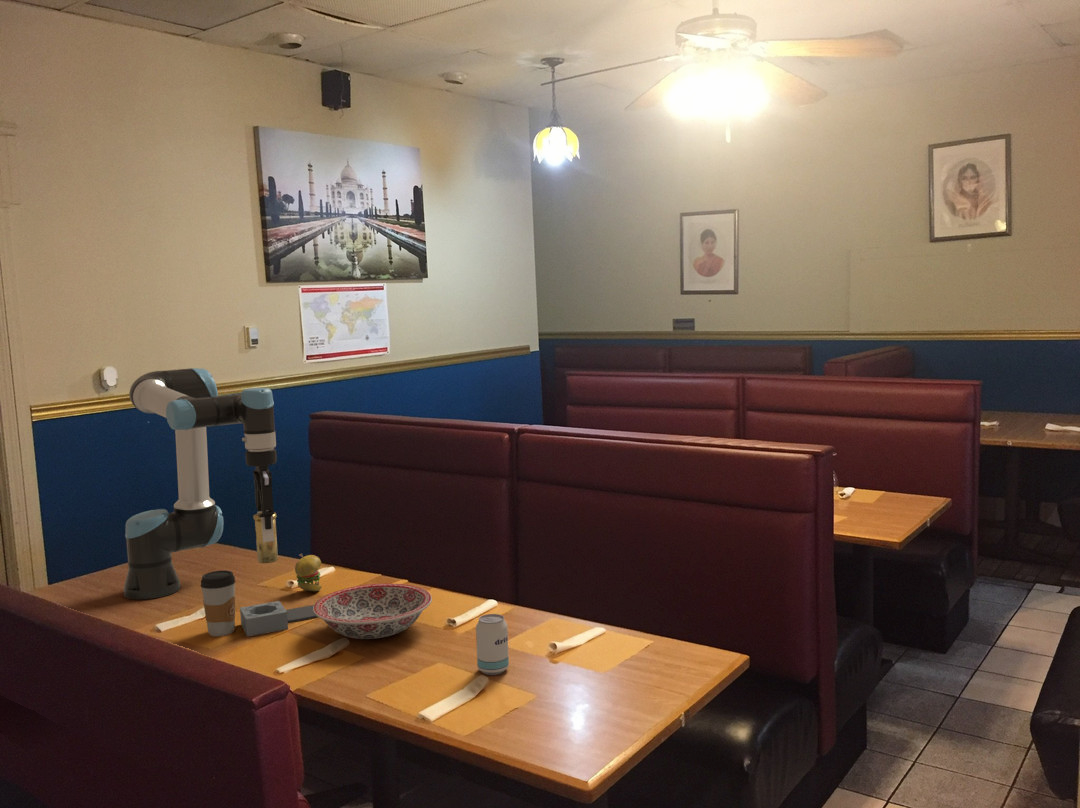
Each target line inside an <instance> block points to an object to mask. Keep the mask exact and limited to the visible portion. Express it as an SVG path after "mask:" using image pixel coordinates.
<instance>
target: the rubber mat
mask: <svg viewBox="0 0 1080 808" xmlns="http://www.w3.org/2000/svg"><path fill="white" fill-rule="evenodd" d="M313 606H314V604H311V605H306V606H300V607H293V608H288V609H285V610H286V611H287V620H288V624H290V623H295V622H300V621H306V620H307V621H308V620H311V619H317V618H319V617H317V616H316V615H315V614H314V612H313Z"/></svg>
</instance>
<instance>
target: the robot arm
mask: <svg viewBox="0 0 1080 808" xmlns="http://www.w3.org/2000/svg"><path fill="white" fill-rule="evenodd" d="M129 400H130V402H131V405H133V407H134V408H135V409H137V410H138V411H141V412H142V413H146V414H157V415H158V416H161V417H164V418H165V419H166V420H167V424H168V425H169V428H170V429H171V430H173V431H174V432H175V452H176V469H177V488H178V500H177V501H176V502H175V503H174V504H173V512H170V513H169V512H168V509H165V508H158V509H151V510H147V511H142V512H140V513H137V514H135V515H134V514H133V515H132V516H131V517H129V518H128V519H127V520H126V522H125V534H124V537H125V541H126V553H127V554H126V555H127V563H128V564H127V566H128V571H127V574H126V578H125V581H124V585H123V595H124V598H126V599H130V600H150V599H157V598H162V597H166V596H170V595H172V594H175V593H176V592H178V591H179V590H180V589H181V580H180V578H179V576H178V573H177V571H176V569H175V567H174V565H173V562H172V560H173V559H172V554H173V553H178V552H182V551H187V550H191V549H197V548H205V547H207V546H210V545H214V544H217V543H218V541H219V540H220V539H221V537H222V534H223V532H224V516H223V512H222V509H221V508H220V507H219V506H218V505H216V501H215V500H214V499H213V498H211V497H210V481H209V478H210V477H209V459H208V458H209V457H208V440H207V439H208V438H207V437H208V436H207V427H218V426H226V425H228V426H229V425H237V424H243V433H244V434H243V435H244V437H242V438H241V441H242V442H244V446H245V447H244V449H245V450H246V451H245V464H246V465H247V466H248V467H255V469H253V471H252V475H253V479H254V481H253V482H254V495H255V497H254V498H255V505H254V506H255V507H256V511H257V513H256V514H259V513H262V515H259V517H261V522H262V537H263V542H269V541H274V529H273V515H274V513H275V511H274V498H273V497H274V495H273V477H272V476H273V475H272V472H271V471H270V469H269V466H274V465H275V464H276V463H277V461H278V460H277V459H278V457H277V449H275V448H276V447H277V439H276V437H277V436H276V429H275V428H276V426H275V425H276V424H275V410H274V409H275V408H274V407H275V406H274V405H275V403H274V402H275V400H274V396H273V391H272V390H271V388H268V387H253V388H252V387H251V388H249V387H248V388H245V389H242V392H237V393H230V394H228V395H219V393H218V388H217V383H216V381H215V379H214V376H213V375H212V374H211V372H210V371H208V370H207V369H205V368H192V367H191V368H189V367H188V368H182V369H181V368H179V369H178V368H177V369H169V370H156V371H155V370H154V371H150V372H146V373H145V374H143V375H140V376H139V377H138V378H137V379H136V380H135V381H133V382H132V384H131V386H130V389H129Z"/></svg>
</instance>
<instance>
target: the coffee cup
mask: <svg viewBox="0 0 1080 808" xmlns="http://www.w3.org/2000/svg"><path fill="white" fill-rule="evenodd" d="M236 582H237V581H236V577H235V575H234V573H233V571H231V570H227V569H225V570H214V571H210V572H207V573H205V574H203V575H202V576H201V580H200V587H201V591H202V599H203V601H202V602H203V608H204V614H205V621H206V627H207V632H208V634H209V636H212V637H223V636H227V635H231V634H232V633H233V632H234V630H235V628H236V593H235V592H236Z"/></svg>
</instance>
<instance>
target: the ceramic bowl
mask: <svg viewBox="0 0 1080 808" xmlns="http://www.w3.org/2000/svg"><path fill="white" fill-rule="evenodd" d="M432 601H433V598H432V594H431V593H430V592H429V591H428V590H426V589H424V588H421V587H418V586H415V585H411V584H402V583H372V584H363V585H357V586H352V587H347V588H343V589H340V590H336V591H333V592H331V593H329V594H326V595H324V596H322V597H321V598H319V599H318V600H316V602H315V603H314V604H313V605H314V606H313V612H314V614H315V615H316V616H317V617H318V618H319V619H321V620H323V621H324V622H325V624H326V625H327V626H328V627H329V628H330V629H332V630H333V631H334V632H335V633H338V634H340V635H341V636H344V637H347V638H351V639H359V640H374V639H381V638H382V639H383V638H386V637H391V636H395V635H396V634H399V633H402V632H403V631H405V630H407V629H408V628H409V627H411V626H412V625H413V624H414V623H415V622H416V621H417V620H418V619H419V618H420V616H421V614H422V613H423V611H425V610H426V609H427V608H428V607H429V606H430V605H431V603H432Z"/></svg>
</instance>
